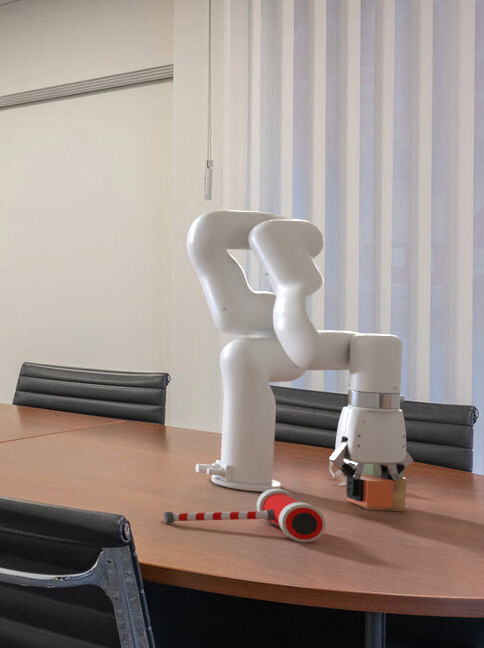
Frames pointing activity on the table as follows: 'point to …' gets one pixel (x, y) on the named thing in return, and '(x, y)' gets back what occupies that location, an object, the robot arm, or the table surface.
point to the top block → (376, 492)
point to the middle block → (375, 470)
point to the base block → (394, 497)
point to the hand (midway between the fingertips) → (369, 498)
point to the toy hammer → (271, 515)
